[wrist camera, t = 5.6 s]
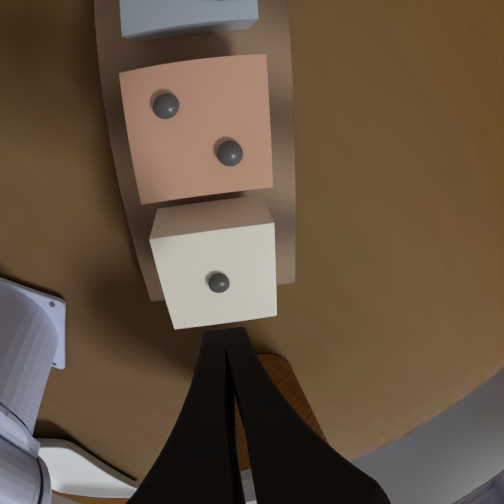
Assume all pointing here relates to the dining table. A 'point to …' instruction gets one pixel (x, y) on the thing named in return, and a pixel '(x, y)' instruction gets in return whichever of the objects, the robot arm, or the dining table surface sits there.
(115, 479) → the salad plate
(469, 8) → the dining table surface
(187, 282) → the key one
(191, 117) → the key two
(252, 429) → the robot arm
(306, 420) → the disposable coffee cup
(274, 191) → the board
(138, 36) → the key three
